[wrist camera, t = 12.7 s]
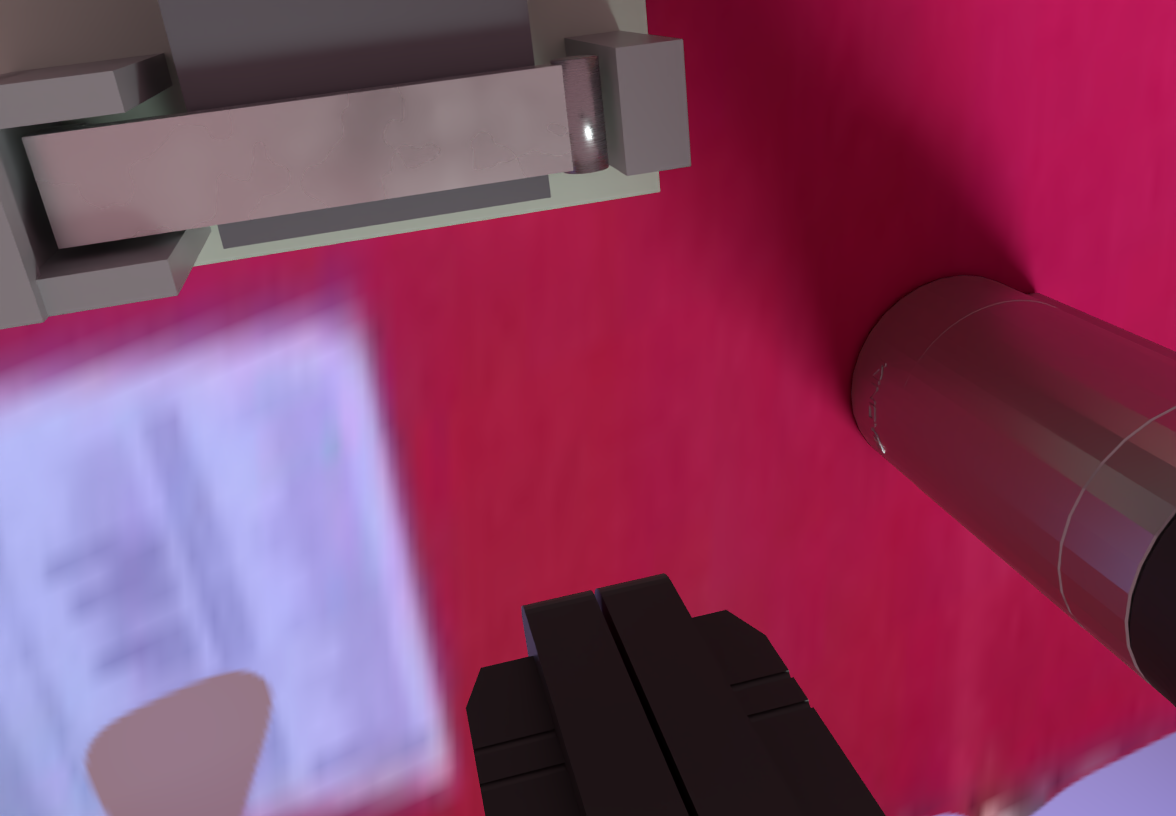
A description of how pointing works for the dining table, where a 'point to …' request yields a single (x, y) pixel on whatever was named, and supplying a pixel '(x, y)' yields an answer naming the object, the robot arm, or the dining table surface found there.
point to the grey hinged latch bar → (318, 151)
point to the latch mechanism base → (287, 70)
